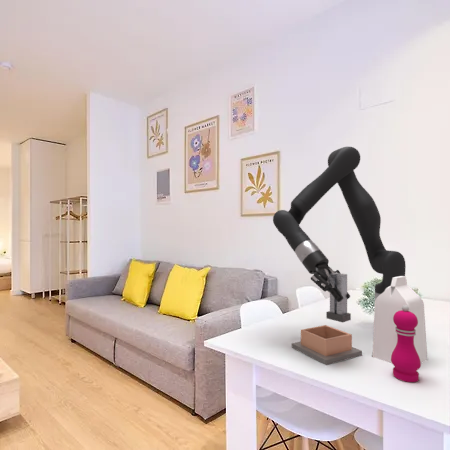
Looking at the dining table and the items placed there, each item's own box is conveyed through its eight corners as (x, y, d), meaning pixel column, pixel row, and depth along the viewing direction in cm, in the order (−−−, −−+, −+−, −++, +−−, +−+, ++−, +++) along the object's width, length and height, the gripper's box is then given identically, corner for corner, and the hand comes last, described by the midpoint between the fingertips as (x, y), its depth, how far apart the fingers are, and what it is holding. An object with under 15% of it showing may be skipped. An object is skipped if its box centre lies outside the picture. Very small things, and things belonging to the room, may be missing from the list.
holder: (325, 340, 118) (325, 322, 118) (362, 355, 104) (361, 335, 104) (291, 347, 110) (291, 328, 110) (326, 365, 96) (325, 343, 96)
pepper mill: (394, 368, 94) (393, 301, 94) (422, 376, 89) (422, 304, 89) (388, 377, 88) (388, 305, 88) (418, 386, 83) (418, 309, 84)
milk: (410, 369, 93) (409, 281, 94) (372, 356, 103) (372, 276, 103) (427, 359, 100) (427, 277, 101) (390, 348, 110) (390, 273, 110)
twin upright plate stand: (334, 315, 102) (334, 272, 102) (350, 319, 97) (350, 274, 98) (326, 318, 99) (326, 273, 99) (342, 322, 95) (342, 275, 95)
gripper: (304, 250, 100) (339, 295, 90) (330, 248, 109) (364, 289, 99) (291, 265, 104) (323, 310, 94) (316, 262, 113) (348, 303, 103)
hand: (344, 299), depth 97 cm, fingers closed on twin upright plate stand, 3 cm apart
